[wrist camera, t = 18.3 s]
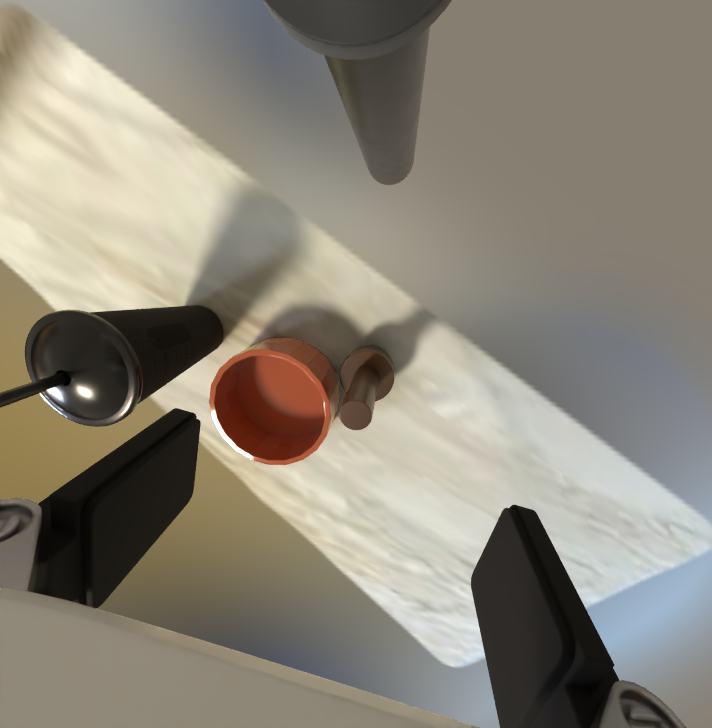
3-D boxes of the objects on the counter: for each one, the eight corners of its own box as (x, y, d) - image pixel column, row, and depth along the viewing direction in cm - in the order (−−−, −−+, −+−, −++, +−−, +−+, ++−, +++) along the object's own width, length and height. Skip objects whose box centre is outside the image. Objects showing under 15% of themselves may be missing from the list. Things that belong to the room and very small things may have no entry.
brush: (351, 336, 33) (328, 373, 23) (400, 349, 33) (400, 393, 22) (340, 382, 35) (313, 436, 24) (387, 395, 34) (380, 455, 24)
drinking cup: (171, 278, 34) (-127, 305, 15) (245, 307, 34) (40, 372, 15) (158, 349, 36) (-114, 451, 17) (226, 377, 36) (30, 510, 17)
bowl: (242, 324, 34) (216, 335, 29) (351, 354, 34) (342, 369, 29) (228, 422, 38) (203, 446, 33) (327, 450, 37) (316, 478, 32)
